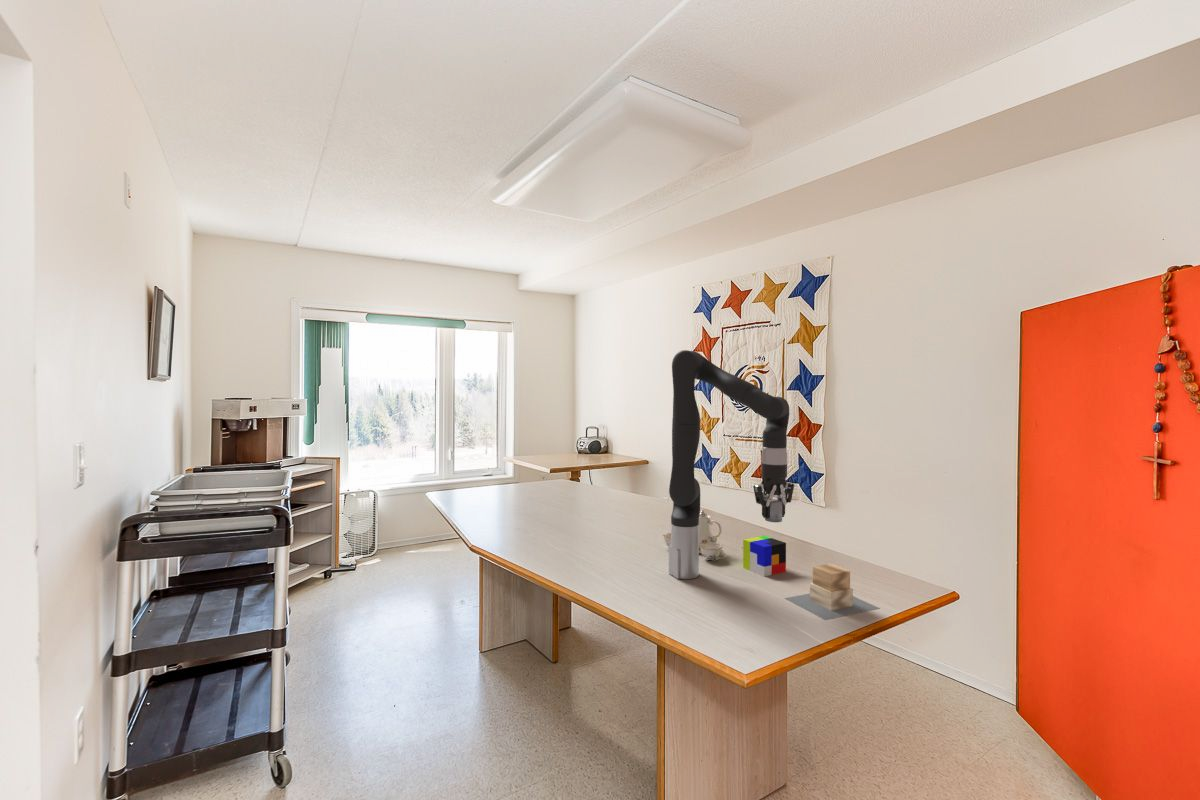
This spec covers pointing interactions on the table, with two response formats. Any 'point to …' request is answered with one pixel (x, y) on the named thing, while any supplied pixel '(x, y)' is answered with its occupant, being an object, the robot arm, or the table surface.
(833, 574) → the top block
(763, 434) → the robot arm
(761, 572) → the puzzle toy
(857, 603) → the slate mat
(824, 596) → the base block
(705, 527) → the chinaware
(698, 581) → the table surface
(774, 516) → the metal cylinder
